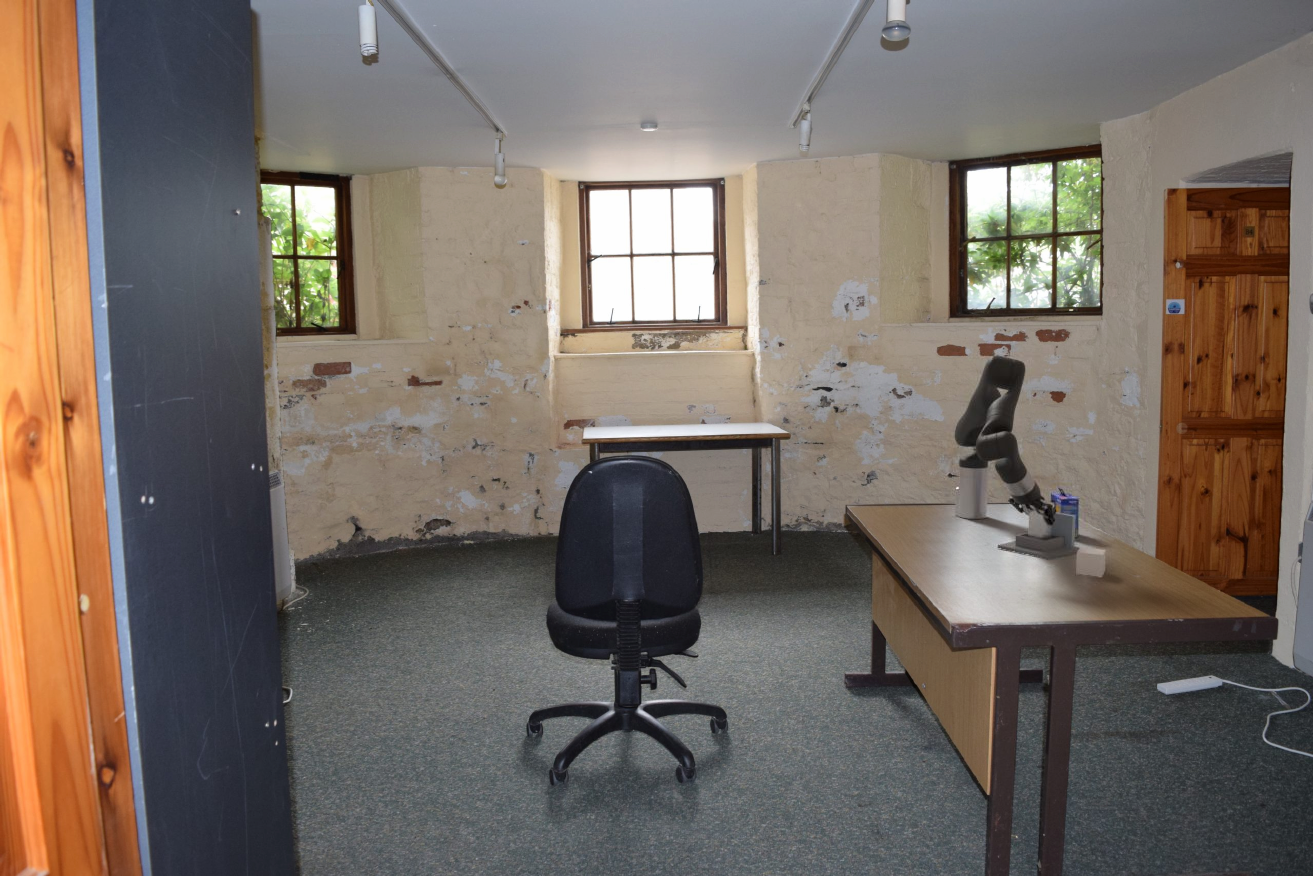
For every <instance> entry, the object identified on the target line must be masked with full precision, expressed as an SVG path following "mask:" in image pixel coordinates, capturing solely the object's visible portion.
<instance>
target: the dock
mask: <svg viewBox="0 0 1313 876" xmlns="http://www.w3.org/2000/svg"><path fill="white" fill-rule="evenodd" d="M1054 518H1055V522H1054V523H1053V525H1052V530H1051V539H1050V540H1045V541H1044V540H1039V539H1034V538H1029V537H1028V532H1025V533H1021V534H1016V535H1015V540H1014V541H1010V542H1006V543H1001V544H998V545H997V549H998V548H1001V549H1000V550H1002V549H1006V550H1005V551H1007V550H1010V551H1009V552H1012V551H1015V552H1014V553H1016V552H1019V553H1018V554H1021V553H1024V554H1023V555H1025V554H1029V555H1028V556H1030V555H1034V556H1033V557H1035V556H1038V557H1037V558H1039V557H1042V558H1041V559H1044V558H1045V560H1048V559H1050V560H1053V559H1057V558H1060V556H1061V557H1065V556H1068V555H1071V554H1075V553H1076V554H1077V551H1078V550H1079V548H1080V547H1081V546H1075V542H1076V541H1075V539H1076V538H1075V521H1076V516H1075V515H1069V514H1063V513H1057V512H1056V513H1055V515H1054ZM1064 555H1065V556H1064ZM1056 557H1057V558H1056Z"/></svg>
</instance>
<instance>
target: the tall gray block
mask: <svg viewBox="0 0 1313 876" xmlns="http://www.w3.org/2000/svg"><path fill="white" fill-rule="evenodd" d="M1029 511H1030V512H1029V516H1028V526H1027V527H1028V531H1027V533H1028V537H1029V538H1034V539H1039V540H1044V541H1045V540H1050V539H1051V530H1052V526H1050V525H1049V524H1048V522H1047V521H1046V519H1045V518H1044V517H1043V516H1042V515H1041V514H1038V513H1037V512H1036V511H1035V510H1034V509H1030V510H1029ZM1045 513H1046V510H1045Z"/></svg>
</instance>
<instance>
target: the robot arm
mask: <svg viewBox="0 0 1313 876" xmlns="http://www.w3.org/2000/svg"><path fill="white" fill-rule="evenodd" d="M1025 376H1026V365H1025V363H1024V362H1023V361H1021V360H1019V359H1014V358H1011V357H1006V356H1002V355H992V356H990V357H989V359H987V361H986V363H985V365H984V368H983V371H982V373H981V377H980V380H979V382H978V385H977V387H976V388H975V391H974V393H973V394H972V396H971V398H970V400H969V402H968V405H967V408H966V410H965V411H964V413H963V414H962V415H961V417H960V419H959V420H958V422H957V423H956V426H955V430H954V440H955V442H956V444H957V445H958V446H960V447H968V448H971V447H972V448H975V451H973V452H972V453H969V454H967V455H963V456H962V457H960V458H959V460H958V487H956V488H955V507H954V508H955V509H954V515H955V516H957V517H960V518H962V519H970V520H971V519H972V520H979V519H986V518H987V508H988V507H987V506H988V505H987V504H988V482H989V481H988V479H989V478H988V477H989V475H988V473H989V471H988V469H989V462H992V461H995V464H994V468H995V471H996V472H997V474H998V476H999V477H1000V479H1001V481H1002V482H1003V486H1004V487H1005V488H1006V490H1007V491H1008V493H1009V495H1010V496H1009V498H1008V500H1007V501H1008V502H1009V503H1010V504H1011V505H1012V506H1013V507H1014V508H1015V509H1016V510H1017V512H1019V513H1020V514H1023V513H1024V514H1025V515H1026V516H1028V517H1029V512H1030V511H1029V510H1030V509H1034V510H1035V511H1036V512H1037V513H1038V514H1041V515H1042V516H1043V517H1044V518H1045V519H1046V521H1047V522H1048V524H1049V525H1050V526H1052V525H1053V523H1054V522H1055V518H1054V515H1055V513H1056V512H1057V509H1056V502H1055V501H1054V500H1051V499H1050V501H1049V500H1046V499H1045V497H1044V496H1042V493H1041V489H1040V486H1039V484H1038V483H1037V482H1036V480H1035V478H1034V477H1033V475H1032V473H1031V472H1030V470H1029V469H1027V467H1026V465H1025V464H1024V462H1023V461H1022V459H1021V456H1020V453H1019V446H1018V440H1017V438H1016V436H1015V435H1014V434H1013V433H1012V432H1013V429H1014V421H1015V413H1016V408H1017V404H1018V402H1019V398H1020V395H1021V391H1022V387H1023V384H1024V381H1025ZM999 389H1001V390H1005V391H1006V393H1004V394H1003V395H1002V394H1001V392H1000V391H999ZM1045 510H1046V513H1045Z"/></svg>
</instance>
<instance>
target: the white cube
mask: <svg viewBox="0 0 1313 876" xmlns="http://www.w3.org/2000/svg"><path fill="white" fill-rule="evenodd" d="M1079 547H1080V548H1079V550H1078V551H1077V552H1076V562H1075V564H1076V565H1075V566H1076V567H1075V568H1076V569H1075V570H1076V571H1075V575H1078V574H1083V575H1082V576H1086V575H1091V576H1090V577H1094V576H1099V577H1098V578H1101V577H1103V576H1104V574H1105V573H1104V572H1106V558H1107V557H1106V556H1107V554H1106V551H1107V550H1106V549H1101V548H1100V549H1099V548H1092V547H1081V546H1079ZM1102 575H1103V576H1102ZM1100 576H1101V577H1100Z"/></svg>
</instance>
